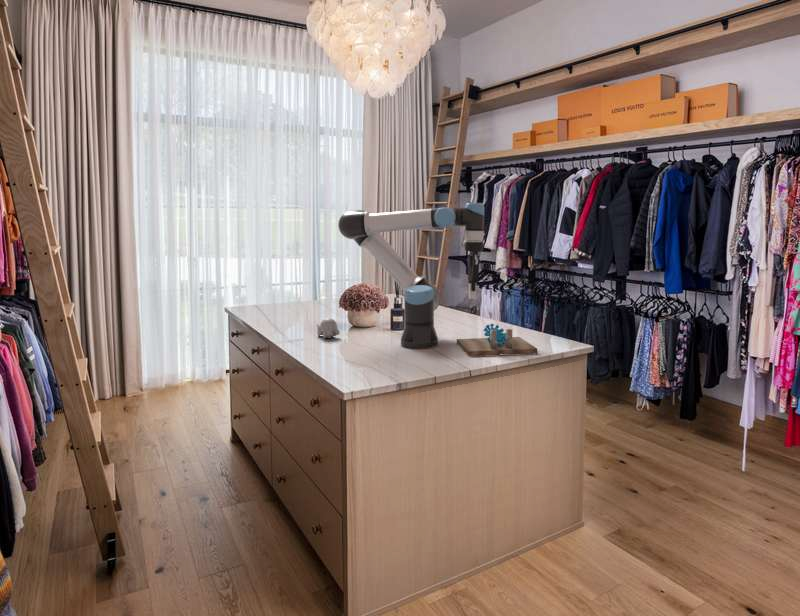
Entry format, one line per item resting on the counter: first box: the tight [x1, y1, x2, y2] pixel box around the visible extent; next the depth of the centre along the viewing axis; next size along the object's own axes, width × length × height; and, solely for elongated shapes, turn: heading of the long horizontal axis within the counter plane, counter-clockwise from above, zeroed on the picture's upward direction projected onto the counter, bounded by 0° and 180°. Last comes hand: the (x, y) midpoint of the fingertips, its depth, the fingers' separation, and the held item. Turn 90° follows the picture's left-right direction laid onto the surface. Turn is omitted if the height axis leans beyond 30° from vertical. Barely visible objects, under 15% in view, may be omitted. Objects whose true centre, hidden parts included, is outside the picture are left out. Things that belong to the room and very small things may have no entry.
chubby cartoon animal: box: [316, 317, 341, 339], centre depth 258 cm, size 7×12×8 cm, turn 44°
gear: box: [483, 323, 506, 346], centre depth 233 cm, size 11×6×10 cm
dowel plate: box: [456, 328, 538, 357], centre depth 232 cm, size 26×22×9 cm
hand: (472, 298), depth 247 cm, fingers closed
